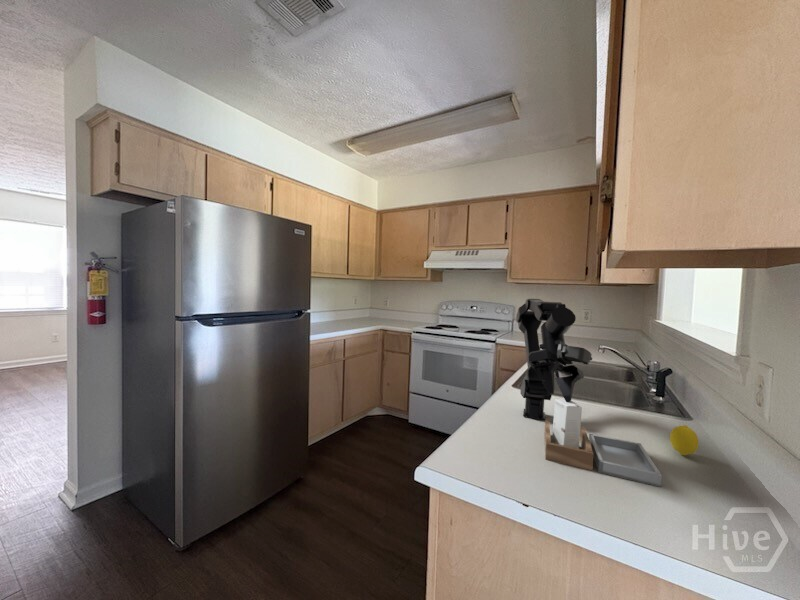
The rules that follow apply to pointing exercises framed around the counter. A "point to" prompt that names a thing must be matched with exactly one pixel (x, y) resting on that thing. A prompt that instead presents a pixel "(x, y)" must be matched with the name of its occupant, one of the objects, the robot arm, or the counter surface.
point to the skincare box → (566, 423)
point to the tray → (624, 460)
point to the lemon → (684, 440)
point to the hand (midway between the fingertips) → (560, 398)
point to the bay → (569, 451)
